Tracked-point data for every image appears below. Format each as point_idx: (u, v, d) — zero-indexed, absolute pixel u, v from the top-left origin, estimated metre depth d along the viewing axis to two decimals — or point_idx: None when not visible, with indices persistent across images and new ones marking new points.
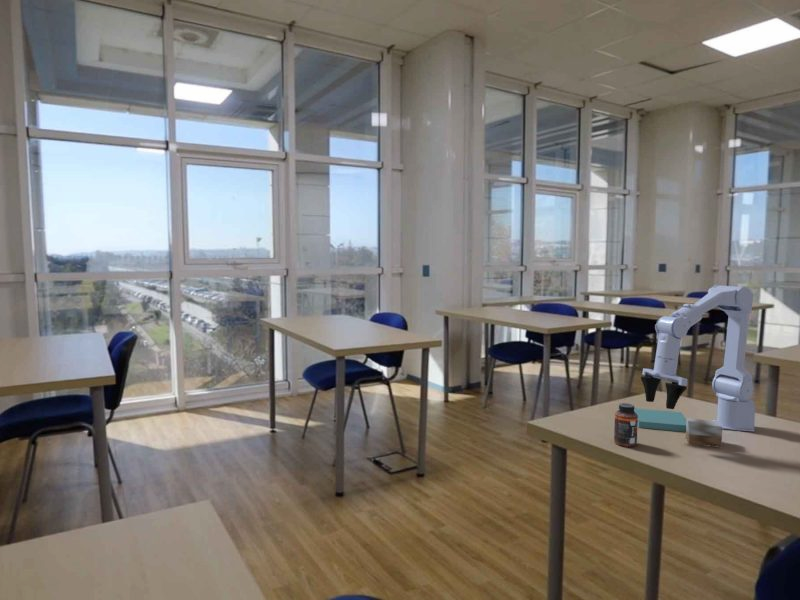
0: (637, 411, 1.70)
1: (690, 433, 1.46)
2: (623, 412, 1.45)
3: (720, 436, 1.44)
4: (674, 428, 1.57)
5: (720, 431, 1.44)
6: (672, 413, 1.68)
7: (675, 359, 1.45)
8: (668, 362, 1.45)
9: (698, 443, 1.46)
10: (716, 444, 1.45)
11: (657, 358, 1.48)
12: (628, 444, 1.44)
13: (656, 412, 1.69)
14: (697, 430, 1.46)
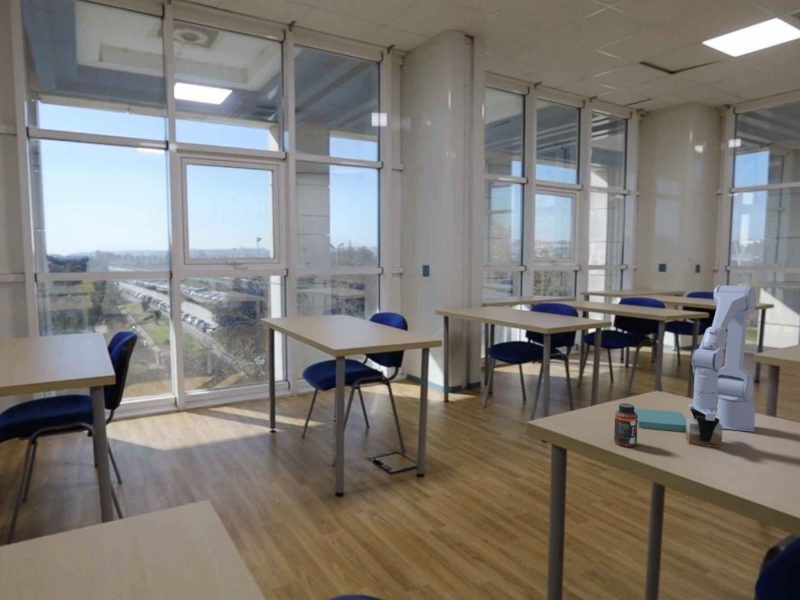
0: (637, 411, 1.70)
1: (690, 433, 1.46)
2: (623, 412, 1.45)
3: (720, 436, 1.44)
4: (674, 428, 1.57)
5: (720, 431, 1.44)
6: (672, 413, 1.68)
7: (709, 392, 1.44)
8: (701, 395, 1.45)
9: (698, 443, 1.46)
10: (716, 444, 1.44)
11: (694, 391, 1.48)
12: (628, 444, 1.44)
13: (656, 412, 1.69)
14: (697, 429, 1.46)
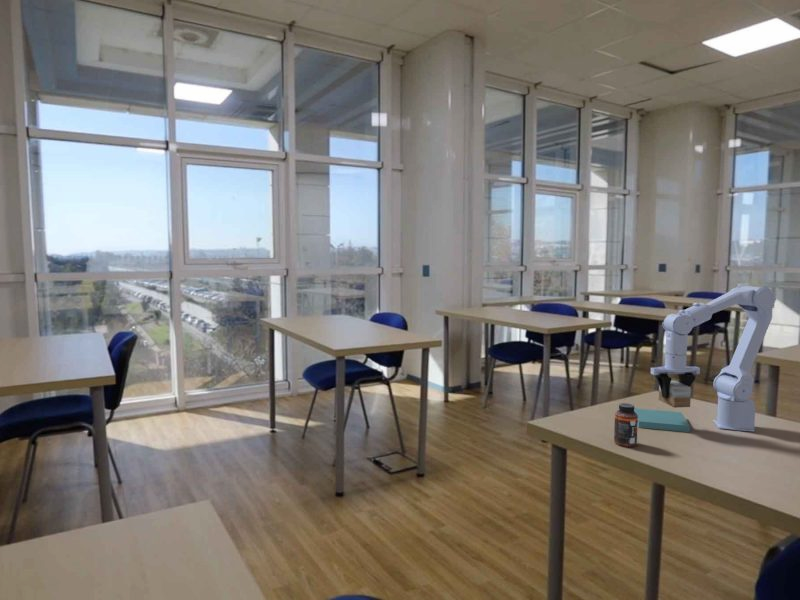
0: (637, 411, 1.70)
1: (659, 389, 1.62)
2: (623, 412, 1.45)
3: (674, 396, 1.55)
4: (674, 428, 1.57)
5: (674, 392, 1.54)
6: (672, 413, 1.68)
7: (667, 353, 1.57)
8: (665, 355, 1.59)
9: (663, 400, 1.60)
10: (671, 403, 1.56)
11: None
12: (628, 444, 1.44)
13: (656, 412, 1.69)
14: None
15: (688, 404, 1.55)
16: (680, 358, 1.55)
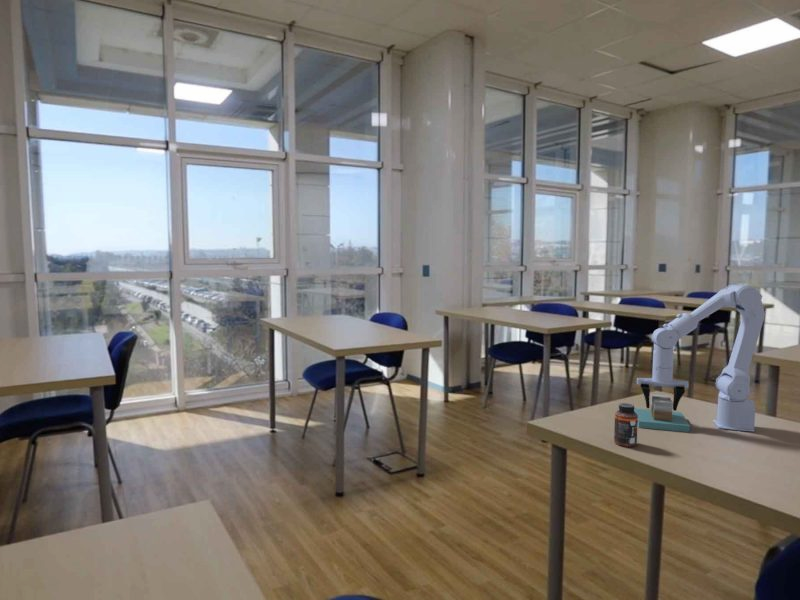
0: (637, 411, 1.70)
1: (651, 402, 1.69)
2: (623, 412, 1.45)
3: (654, 409, 1.62)
4: (674, 428, 1.57)
5: (654, 405, 1.62)
6: (672, 413, 1.68)
7: (653, 365, 1.64)
8: None
9: (651, 412, 1.67)
10: (653, 416, 1.63)
11: None
12: (628, 444, 1.44)
13: None
14: (651, 400, 1.67)
15: (669, 418, 1.60)
16: (662, 371, 1.61)
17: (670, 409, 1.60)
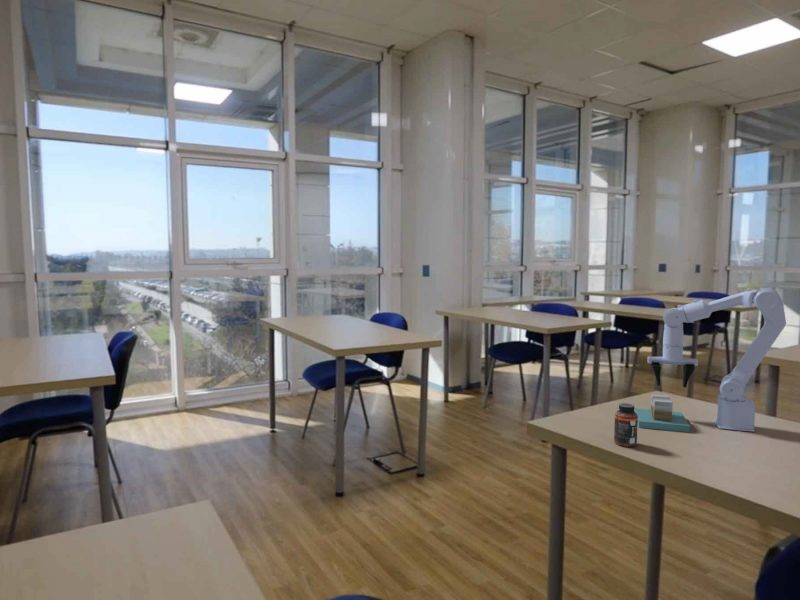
0: (637, 411, 1.70)
1: (651, 402, 1.69)
2: (623, 412, 1.45)
3: (654, 409, 1.62)
4: (674, 428, 1.57)
5: (654, 405, 1.62)
6: (672, 413, 1.68)
7: (663, 344, 1.69)
8: None
9: (651, 412, 1.67)
10: (653, 416, 1.63)
11: None
12: (628, 444, 1.44)
13: None
14: (651, 400, 1.67)
15: (669, 418, 1.60)
16: (673, 349, 1.66)
17: (670, 409, 1.60)
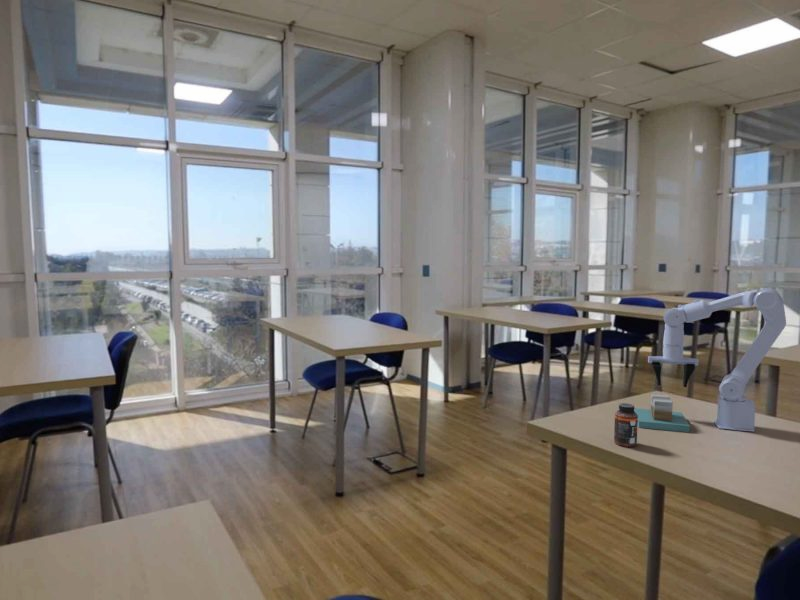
0: (637, 411, 1.70)
1: (651, 402, 1.69)
2: (623, 412, 1.45)
3: (654, 409, 1.62)
4: (674, 428, 1.57)
5: (654, 405, 1.62)
6: (672, 413, 1.68)
7: (664, 343, 1.69)
8: None
9: (651, 412, 1.67)
10: (653, 416, 1.63)
11: None
12: (628, 444, 1.44)
13: None
14: (651, 400, 1.67)
15: (669, 418, 1.60)
16: (673, 349, 1.66)
17: (670, 409, 1.60)
